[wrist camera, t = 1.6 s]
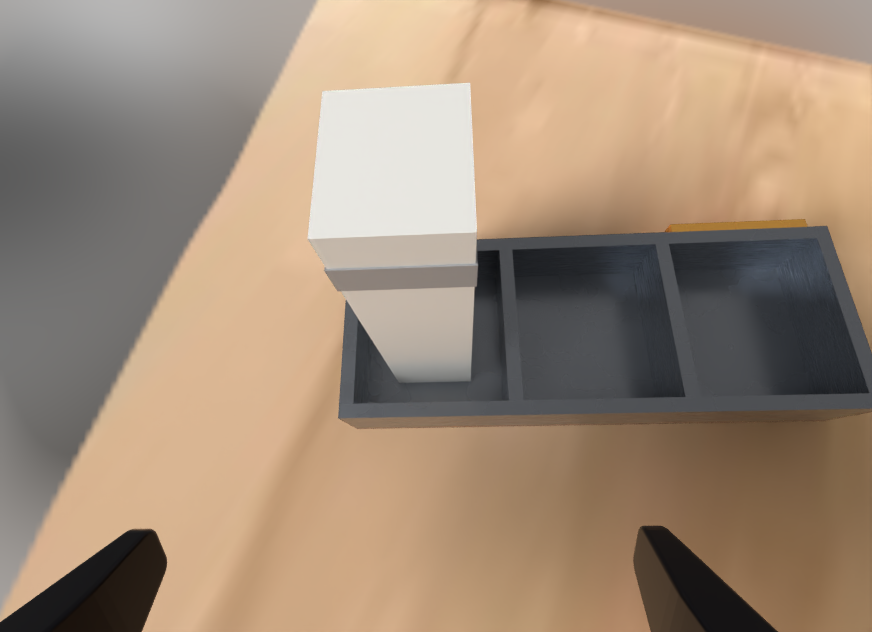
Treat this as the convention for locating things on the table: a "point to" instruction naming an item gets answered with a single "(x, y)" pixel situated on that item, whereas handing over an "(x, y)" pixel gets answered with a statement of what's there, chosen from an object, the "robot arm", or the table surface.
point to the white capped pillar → (401, 221)
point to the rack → (639, 334)
